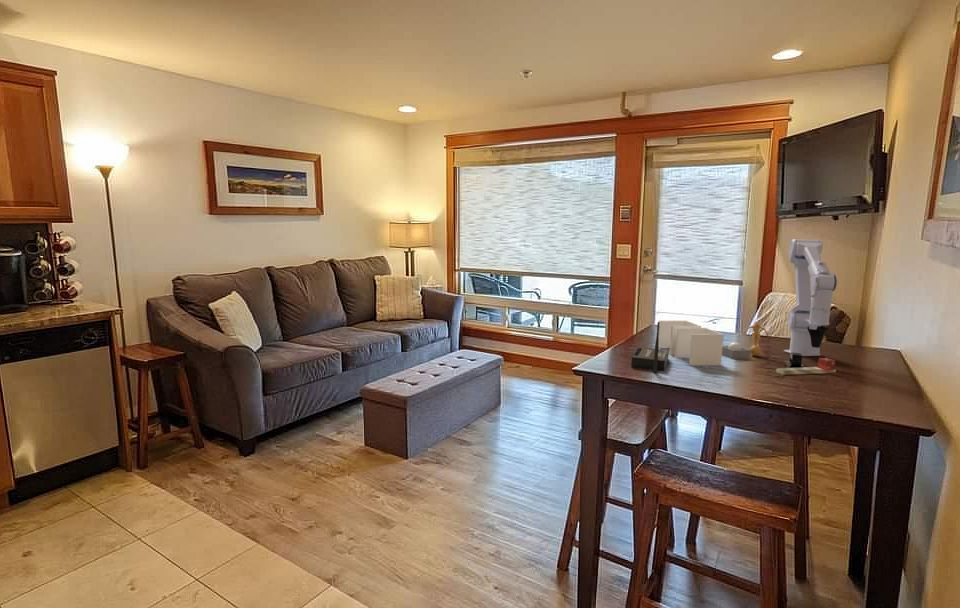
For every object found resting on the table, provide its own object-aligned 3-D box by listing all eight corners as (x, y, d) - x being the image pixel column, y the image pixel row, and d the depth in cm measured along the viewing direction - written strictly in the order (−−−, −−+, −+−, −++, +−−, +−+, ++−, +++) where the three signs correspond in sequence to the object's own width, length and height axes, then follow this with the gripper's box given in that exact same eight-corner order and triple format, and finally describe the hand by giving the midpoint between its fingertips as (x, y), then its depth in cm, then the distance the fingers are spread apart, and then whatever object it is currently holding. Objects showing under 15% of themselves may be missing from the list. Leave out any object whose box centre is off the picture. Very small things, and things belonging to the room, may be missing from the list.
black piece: (810, 372, 168) (812, 359, 168) (785, 370, 171) (786, 356, 170) (803, 363, 180) (804, 350, 179) (779, 360, 182) (781, 348, 182)
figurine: (743, 356, 186) (747, 324, 184) (740, 352, 192) (743, 321, 190) (769, 358, 184) (772, 325, 182) (764, 354, 190) (768, 322, 188)
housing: (736, 353, 191) (737, 345, 190) (749, 358, 184) (750, 350, 183) (719, 353, 189) (720, 345, 189) (732, 358, 182) (732, 350, 182)
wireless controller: (632, 356, 184) (635, 310, 181) (673, 361, 178) (677, 313, 176) (623, 370, 166) (627, 319, 163) (668, 376, 160) (673, 323, 158)
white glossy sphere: (735, 352, 189) (737, 340, 188) (744, 355, 184) (745, 343, 184) (724, 353, 188) (726, 341, 187) (733, 356, 184) (734, 343, 183)
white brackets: (720, 365, 174) (723, 334, 172) (690, 366, 172) (693, 334, 171) (683, 348, 198) (685, 320, 196) (657, 348, 197) (659, 320, 195)
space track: (827, 370, 170) (829, 357, 169) (836, 373, 166) (838, 359, 166) (775, 372, 166) (777, 358, 165) (783, 375, 163) (785, 361, 162)
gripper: (812, 305, 182) (808, 342, 184) (801, 309, 172) (796, 348, 175) (835, 308, 177) (831, 345, 179) (825, 312, 167) (820, 352, 169)
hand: (815, 347), depth 177 cm, fingers closed
